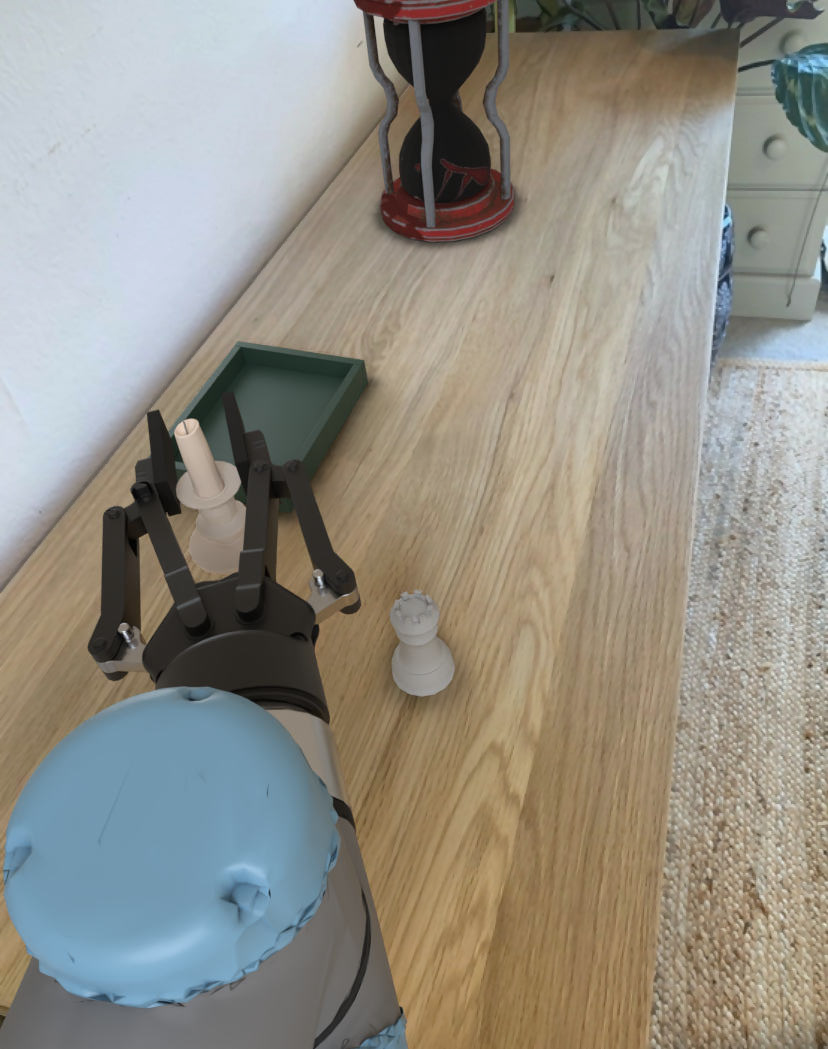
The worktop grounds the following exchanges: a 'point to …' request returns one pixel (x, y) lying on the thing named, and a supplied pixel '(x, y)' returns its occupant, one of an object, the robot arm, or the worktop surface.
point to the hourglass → (441, 118)
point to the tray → (277, 404)
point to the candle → (210, 502)
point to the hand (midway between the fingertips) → (196, 418)
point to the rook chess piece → (419, 646)
